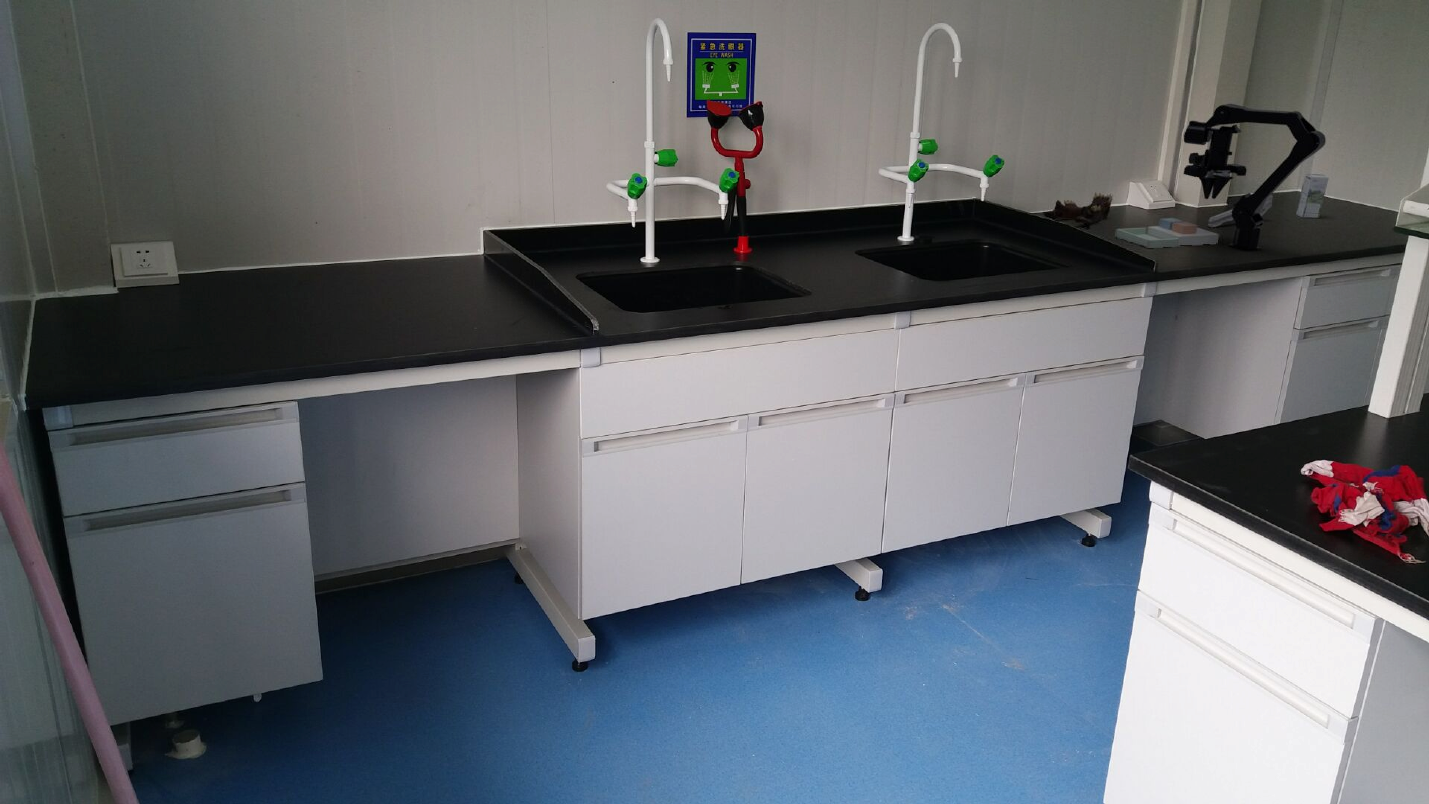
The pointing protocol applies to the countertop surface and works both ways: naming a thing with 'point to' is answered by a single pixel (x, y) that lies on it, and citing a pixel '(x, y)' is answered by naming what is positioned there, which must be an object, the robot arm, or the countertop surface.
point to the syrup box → (1312, 195)
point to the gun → (1228, 214)
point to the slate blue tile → (1168, 223)
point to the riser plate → (1184, 236)
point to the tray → (1144, 238)
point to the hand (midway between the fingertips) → (1209, 198)
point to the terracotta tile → (1184, 228)
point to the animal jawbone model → (1082, 210)
